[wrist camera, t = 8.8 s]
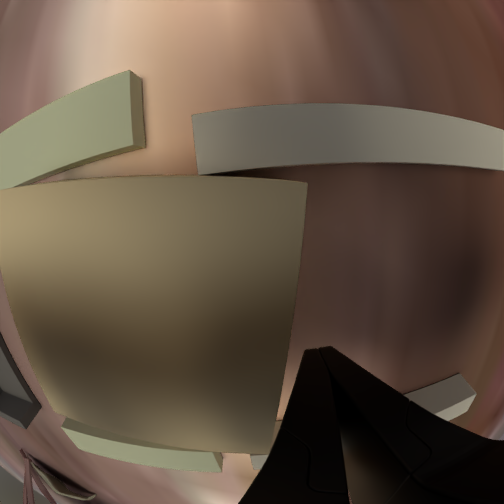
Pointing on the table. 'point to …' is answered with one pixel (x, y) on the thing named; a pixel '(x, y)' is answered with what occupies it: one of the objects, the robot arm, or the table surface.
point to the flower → (49, 479)
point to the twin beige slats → (347, 152)
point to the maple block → (158, 301)
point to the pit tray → (15, 392)
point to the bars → (72, 155)
